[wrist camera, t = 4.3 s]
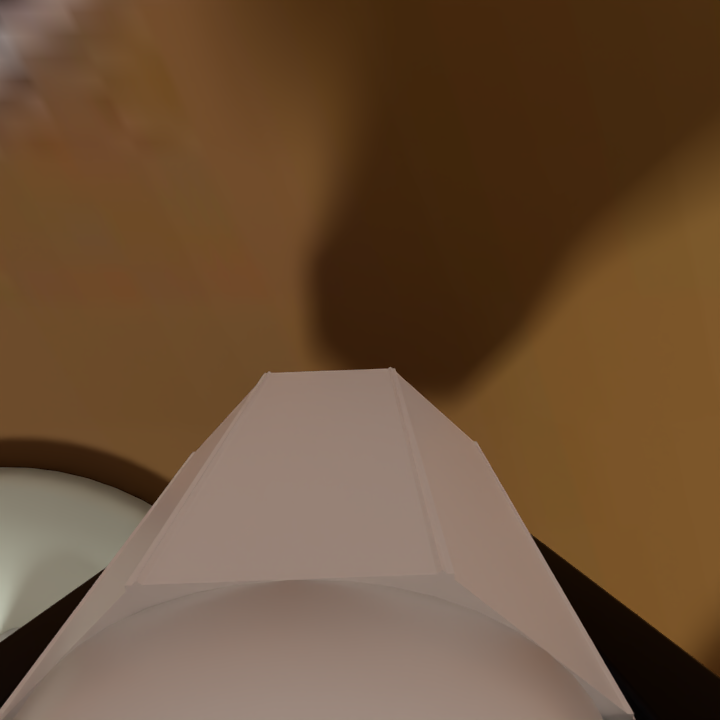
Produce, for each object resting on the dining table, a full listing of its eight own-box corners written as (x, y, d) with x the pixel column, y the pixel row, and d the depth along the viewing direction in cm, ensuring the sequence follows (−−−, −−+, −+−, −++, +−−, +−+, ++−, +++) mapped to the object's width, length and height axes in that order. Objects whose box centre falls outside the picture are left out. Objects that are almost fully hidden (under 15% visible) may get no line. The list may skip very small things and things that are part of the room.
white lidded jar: (483, 363, 8) (947, 836, 2) (469, 599, 10) (667, 1245, 4) (176, 374, 8) (-480, 889, 2) (220, 608, 10) (-19, 1266, 4)
